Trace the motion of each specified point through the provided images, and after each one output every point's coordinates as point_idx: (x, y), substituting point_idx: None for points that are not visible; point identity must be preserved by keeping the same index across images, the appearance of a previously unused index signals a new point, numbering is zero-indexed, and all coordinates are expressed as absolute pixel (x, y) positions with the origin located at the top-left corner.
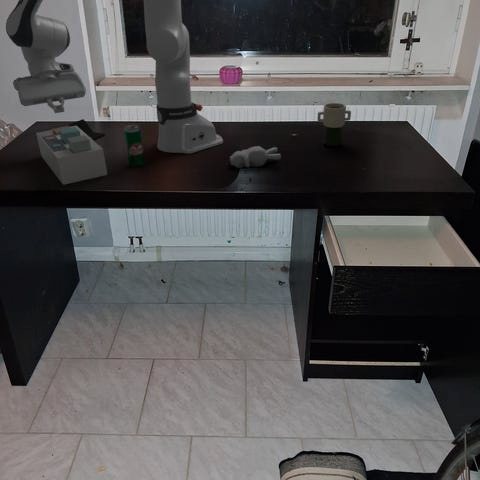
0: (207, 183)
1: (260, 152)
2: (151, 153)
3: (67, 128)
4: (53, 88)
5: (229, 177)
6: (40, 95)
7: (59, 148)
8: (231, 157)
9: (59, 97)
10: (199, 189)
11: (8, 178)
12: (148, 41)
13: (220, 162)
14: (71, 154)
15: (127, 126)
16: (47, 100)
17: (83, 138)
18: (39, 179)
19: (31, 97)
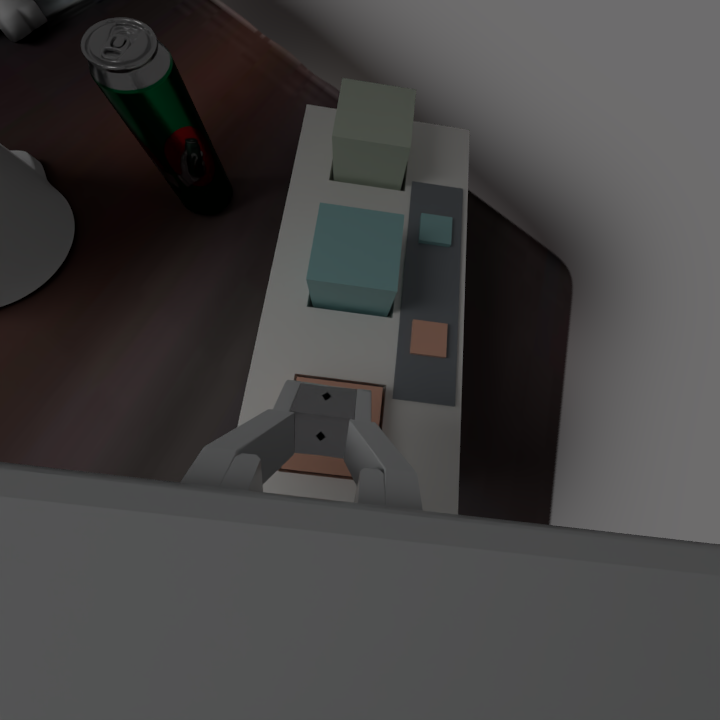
0: (169, 11)
1: None
2: (113, 244)
3: (351, 280)
4: (216, 704)
5: (108, 2)
6: (539, 559)
7: (436, 200)
8: (10, 12)
9: (245, 483)
10: (205, 3)
11: (555, 349)
12: None
13: (39, 68)
14: (418, 128)
15: (130, 54)
16: (418, 493)
17: (355, 103)
18: (479, 281)
19: (683, 564)
